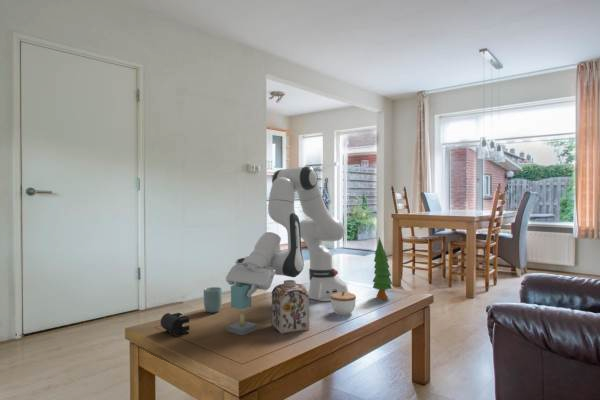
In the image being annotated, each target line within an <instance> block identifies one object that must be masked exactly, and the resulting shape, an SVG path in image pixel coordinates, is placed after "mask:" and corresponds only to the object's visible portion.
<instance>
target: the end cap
mask: <svg viewBox="0 0 600 400" xmlns="http://www.w3.org/2000/svg"><path fill="white" fill-rule="evenodd" d="M182 315H183V314H182V313H181V312H177V313H169V312H167V313H165V314H164V315H162V317H161V318H160V326H161V327H162V328H163V329H164V330H166V331H167V332H168V333H171V334H173V335H174V336H176V337H182V336H185V335H189V334H190V325H186V326H183V324H187V323H190V317H189V316H187V315H183V316H182Z"/></svg>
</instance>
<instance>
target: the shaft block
mask: <svg viewBox="0 0 600 400" xmlns="http://www.w3.org/2000/svg"><path fill="white" fill-rule="evenodd" d="M245 317H246V315H245V311H244V310H242V311H239V321H238V322H235V323H231V324H229V325H227V326H226V329H227V330H226V331H227V332H228V333H232V334H236V335H239V336H245V335H247V334H250V333H253V332H255V331H257V330H258V324H257V323H254V322H250V321H245V320H246V318H245Z"/></svg>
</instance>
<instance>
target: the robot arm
mask: <svg viewBox="0 0 600 400" xmlns="http://www.w3.org/2000/svg"><path fill="white" fill-rule="evenodd" d="M271 177H272V178H271V187H270V191H269V196H268V206H267V213H268V215H269V217H270V218H271V220H273V221H274V222H275V223H277V224H279V225H281V226H283V227H284V228H285V229H286V232H287V247H288V248H287V249H288V250H287V251H281V245H280V244H281V240H282V237H280V235H278V234H277V233H275V232H271V231H267V232H264V233H263V234H262V235H261V236H260V237H259V239H258V240H257V242H256V244H255V246H254V249H253V251H252V252H251V253H250V254H249V255H247V256H245V257H242V258H241V257H240V258H238V259H236V260H235V262H234V263H235V264H234V265H233V266H232V267H231V268H230V269H229V271H228V273H227V274H226V276H225V280H226V282H227V283H228V285H230V286H234V285H237V284H246V285H251V289H250V290H249V291H246V293H245V296H246V297H248V298H250V297H251V298H252V295H253V294H254V293H256V292H257V290H261V291H262V290H263V291H268V290H269V289H270V288H271V286H272V283H273V280H274V277H275V275H276V276H285V277H289V278H295V277H297V276H299V275H300V274H301V273H302V272H303V270H304V267H305V263H304V257H303V251H302V250H303V249H302V240H303V241H304V243H305V245H306V247H307V249H308V253H309V268H308V279H309V285H308V290H307V292H308V295H309V300H310V299H311V300H316V301H319V302H331V294H334V293H341V292H342V291H344V293H351V292H350V291H348V290H349V289H348V286H347V283H346V282H345V281H343V280H342V279H341V278H339V277H338V274H339V272H338V270H337V269H335V268H333V254H332V252H331V250H330V249H329V248H327V247H326V246H325V243H324V242H337V241H340V240H342V239H343V238H344V235H345V230H346V229H345V226H344V224H343V222H342V221H341V220H339V219H337V218H336V217H335V216H333V214H332V213H331V212H330V210H329V209H328V208H327V205H326V203H325V201H324V198H323V195H322V192H321V188H320V185H319V182H318V181H319V180H318V173H317V171H316V170H315V169H314V168H313V167H311V166H292V167H289V168H281V169H278V170H276V171H275V172H274V173H273V175H272V176H271ZM296 192H297V195H298V198H299V202H300V206H301V208H302V211H303V214H304V215H306V216H307V217H308V218H307V219H303V220H301V221H300V219H299V216H298V214H296V212H295V193H296Z"/></svg>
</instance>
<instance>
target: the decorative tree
mask: <svg viewBox="0 0 600 400" xmlns="http://www.w3.org/2000/svg"><path fill="white" fill-rule="evenodd" d="M376 246H377V247H376V249H375V252H374V260H373V262H375V264H374V268H373V269H374V272H373V273H374V275H375V276H374V277H373V279H372V283H373V287H372V288H373V289H376V290H378V292H377V295H376V297H375V299H377V300H379V299H380V300H388V299H389V297H388V294H386V290H390V289H392V286H391V285H393V282H392V280H391V278H390V276H392V275H391V272H390V270H389V268H390V265H389V263H388V262H389V260H388V257H387V253H386V251H385V249H384V246H383V243H382V240H381V237H378V241H377V245H376Z"/></svg>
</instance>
